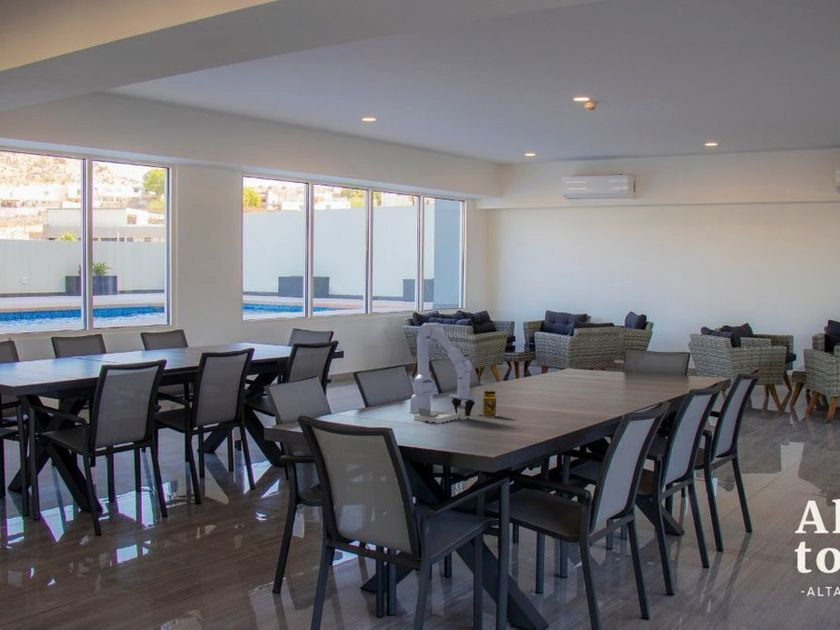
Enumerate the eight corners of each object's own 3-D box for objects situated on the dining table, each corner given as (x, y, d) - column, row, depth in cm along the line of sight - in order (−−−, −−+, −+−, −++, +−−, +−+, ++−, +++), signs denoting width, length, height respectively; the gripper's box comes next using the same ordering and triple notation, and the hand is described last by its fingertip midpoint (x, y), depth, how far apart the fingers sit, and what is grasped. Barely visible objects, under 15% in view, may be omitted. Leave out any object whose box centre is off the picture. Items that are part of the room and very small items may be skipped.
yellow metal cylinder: (492, 417, 396) (493, 392, 395) (476, 416, 400) (476, 391, 399) (499, 415, 402) (499, 390, 402) (483, 414, 406) (483, 389, 406)
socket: (414, 420, 387) (414, 414, 387) (434, 415, 400) (434, 410, 400) (439, 423, 379) (439, 418, 379) (458, 418, 392) (458, 413, 392)
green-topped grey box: (457, 418, 392) (457, 405, 392) (461, 417, 396) (462, 404, 395) (464, 419, 390) (464, 406, 390) (468, 418, 393) (469, 405, 393)
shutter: (418, 415, 383) (418, 407, 383) (427, 413, 389) (427, 405, 389) (429, 417, 379) (429, 409, 379) (438, 415, 385) (439, 407, 385)
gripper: (445, 386, 393) (445, 414, 394) (471, 388, 384) (471, 418, 385) (454, 384, 399) (453, 412, 399) (480, 387, 390) (479, 416, 391)
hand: (463, 415), depth 393 cm, fingers open, 5 cm apart
